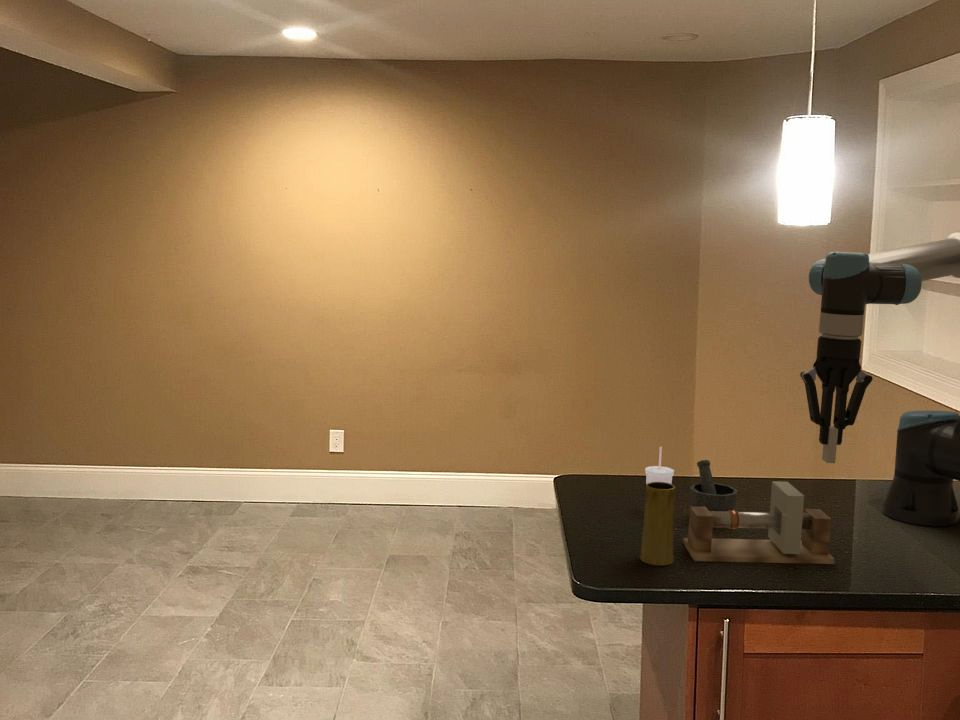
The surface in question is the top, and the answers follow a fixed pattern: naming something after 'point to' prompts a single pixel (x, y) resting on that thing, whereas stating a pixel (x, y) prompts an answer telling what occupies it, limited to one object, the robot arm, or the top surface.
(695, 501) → the mortar and pestle
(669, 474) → the beverage cup
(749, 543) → the stand
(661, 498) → the vase
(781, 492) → the collar
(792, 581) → the top surface
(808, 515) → the pipe
